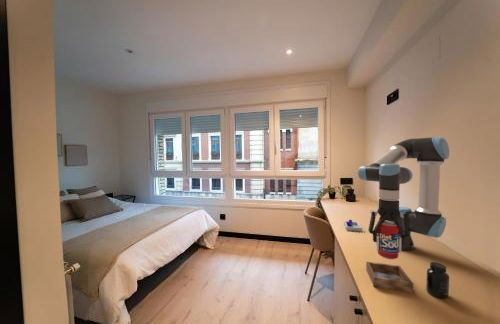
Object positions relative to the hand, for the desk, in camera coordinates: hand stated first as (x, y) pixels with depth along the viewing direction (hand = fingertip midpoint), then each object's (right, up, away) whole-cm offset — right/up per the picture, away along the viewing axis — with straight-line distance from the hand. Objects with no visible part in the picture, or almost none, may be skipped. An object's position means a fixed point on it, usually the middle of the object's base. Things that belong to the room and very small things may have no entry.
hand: (387, 250), depth 94 cm
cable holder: (+16, -10, +68) cm, 71 cm away
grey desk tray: (+16, -11, +67) cm, 69 cm away
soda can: (0, -3, 0) cm, 3 cm away
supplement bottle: (+14, -14, -9) cm, 22 cm away
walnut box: (0, -14, +1) cm, 14 cm away
